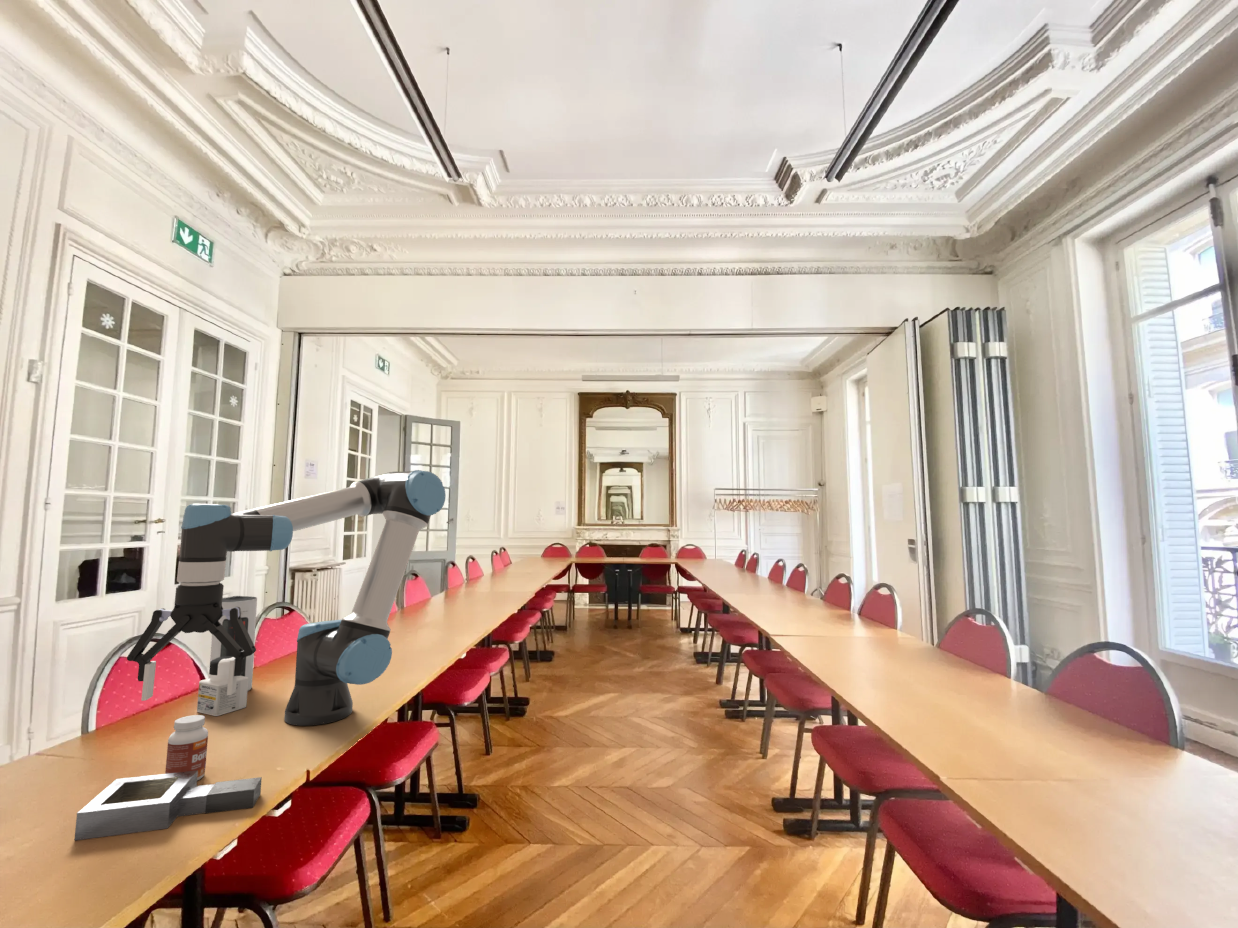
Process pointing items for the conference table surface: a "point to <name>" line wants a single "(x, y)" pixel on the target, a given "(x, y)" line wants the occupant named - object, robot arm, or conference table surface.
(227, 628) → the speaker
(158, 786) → the grey square pan
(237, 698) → the container
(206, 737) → the pill bottle
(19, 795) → the conference table surface
